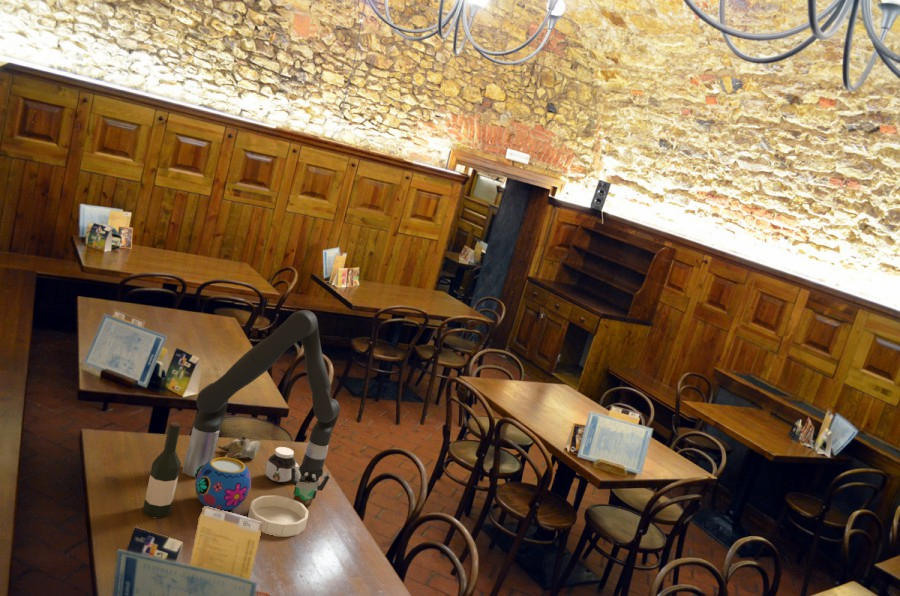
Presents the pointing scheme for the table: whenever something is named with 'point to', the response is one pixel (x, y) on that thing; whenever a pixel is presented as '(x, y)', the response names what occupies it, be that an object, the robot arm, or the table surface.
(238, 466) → the ceramic pot
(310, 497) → the food container
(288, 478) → the spread jar
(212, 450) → the robot arm
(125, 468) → the table surface
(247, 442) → the ceramic sculpture
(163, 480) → the wine bottle
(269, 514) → the bowl
